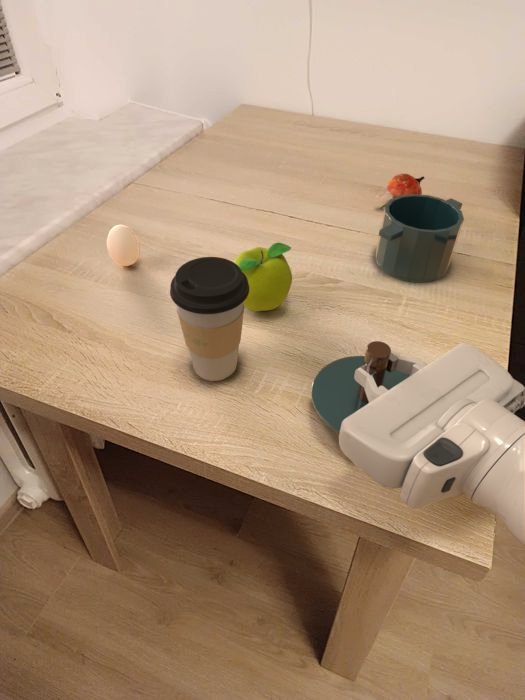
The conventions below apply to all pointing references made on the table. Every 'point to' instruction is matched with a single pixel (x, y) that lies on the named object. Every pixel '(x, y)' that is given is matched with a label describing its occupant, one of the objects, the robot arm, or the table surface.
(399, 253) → the pot
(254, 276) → the fruit
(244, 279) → the coffee cup
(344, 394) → the lid
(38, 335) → the table surface
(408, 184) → the pomegranate
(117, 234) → the egg
